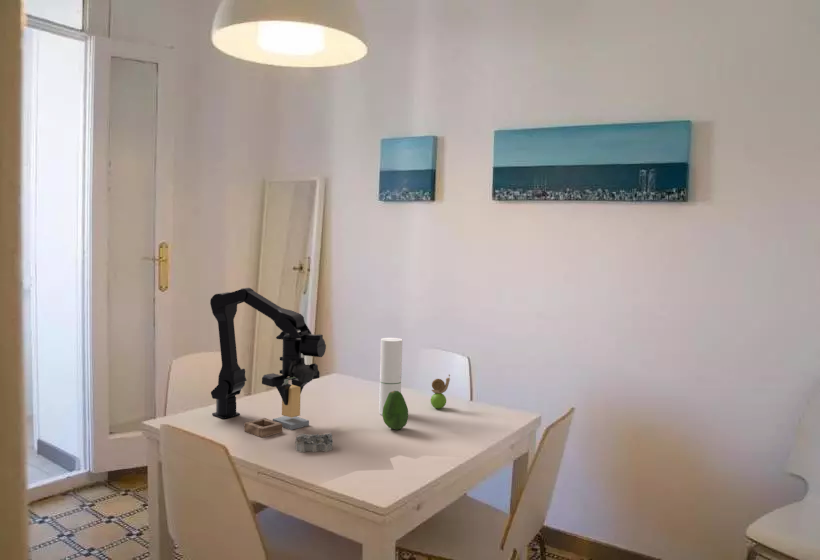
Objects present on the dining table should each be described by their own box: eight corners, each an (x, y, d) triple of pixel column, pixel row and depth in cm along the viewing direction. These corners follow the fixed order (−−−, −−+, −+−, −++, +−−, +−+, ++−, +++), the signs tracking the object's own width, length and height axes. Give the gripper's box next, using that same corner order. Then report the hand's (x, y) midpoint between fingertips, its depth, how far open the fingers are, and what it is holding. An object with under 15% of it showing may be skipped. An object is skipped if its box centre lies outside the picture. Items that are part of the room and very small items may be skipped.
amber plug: (281, 414, 208) (282, 386, 207) (290, 412, 210) (291, 384, 210) (291, 417, 205) (291, 388, 204) (300, 415, 208) (300, 386, 207)
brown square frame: (244, 431, 200) (244, 422, 200) (264, 425, 205) (264, 417, 205) (261, 437, 194) (262, 429, 194) (282, 431, 200) (282, 423, 200)
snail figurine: (449, 410, 229) (450, 376, 228) (430, 410, 229) (431, 375, 228) (448, 406, 234) (449, 372, 233) (430, 406, 234) (431, 372, 233)
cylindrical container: (401, 410, 227) (403, 338, 225) (398, 416, 220) (401, 341, 218) (380, 409, 227) (382, 337, 225) (377, 415, 220) (379, 340, 218)
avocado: (391, 424, 211) (392, 386, 211) (412, 428, 207) (413, 390, 207) (377, 430, 205) (378, 391, 204) (398, 434, 201) (399, 395, 200)
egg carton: (294, 453, 182) (294, 439, 182) (295, 444, 190) (296, 431, 189) (332, 452, 184) (333, 438, 183) (332, 444, 191) (332, 430, 191)
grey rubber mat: (272, 423, 208) (272, 418, 208) (290, 419, 213) (290, 414, 213) (291, 429, 202) (291, 425, 202) (308, 425, 208) (309, 420, 208)
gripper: (284, 362, 194) (283, 415, 195) (332, 354, 208) (330, 403, 209) (261, 356, 201) (260, 407, 202) (308, 349, 215) (307, 396, 216)
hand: (291, 403), depth 207 cm, fingers closed on amber plug, 3 cm apart
